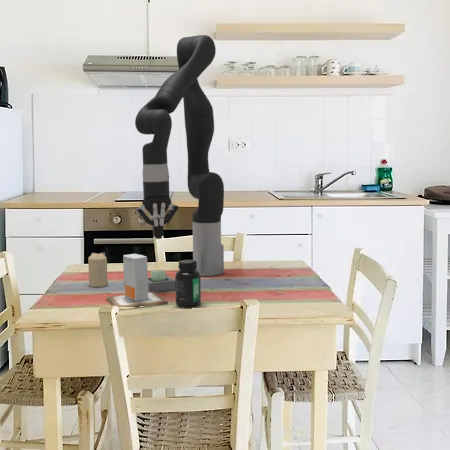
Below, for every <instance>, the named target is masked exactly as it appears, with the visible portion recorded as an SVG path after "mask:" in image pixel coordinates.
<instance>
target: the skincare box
mask: <svg viewBox="0 0 450 450" xmlns="http://www.w3.org/2000/svg"><path fill="white" fill-rule="evenodd" d="M122 257H123V258H122V260H123V261H122V262H123V263H122V264H123V265H122V266H123V293H124V294H123V295H124V297H126V298H129V299H132V300H134V301H140V300H145V299H148V277H149V276H148V275H149V274H148V257H147V256H145V255H143V254H138V253H130V254H123V256H122Z"/></svg>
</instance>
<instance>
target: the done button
mask: <svg viewBox="0 0 450 450" xmlns="http://www.w3.org/2000/svg"><path fill="white" fill-rule="evenodd" d="M166 275H167V271H166V270H163V269H156V270H155V269H154V270H151V271H150V277H151V281H152V282H158V281H166Z"/></svg>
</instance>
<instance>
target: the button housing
mask: <svg viewBox="0 0 450 450" xmlns="http://www.w3.org/2000/svg"><path fill="white" fill-rule="evenodd" d="M148 292H156V293H157V294H160V293H168V292H176V291H175V278H174V279H173V278H172V277H170V276H169V275H167V274H166V281H158V282H152V281H151V276H148Z"/></svg>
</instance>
